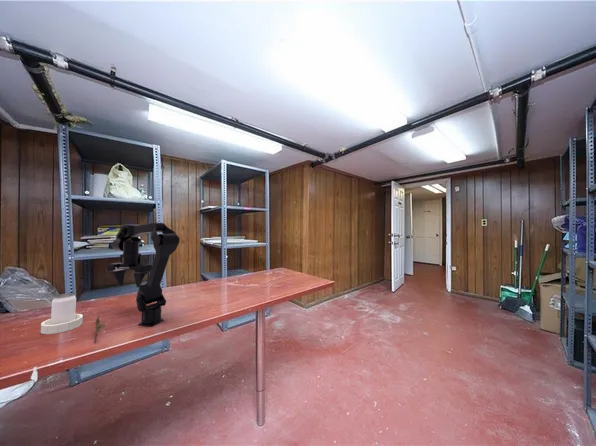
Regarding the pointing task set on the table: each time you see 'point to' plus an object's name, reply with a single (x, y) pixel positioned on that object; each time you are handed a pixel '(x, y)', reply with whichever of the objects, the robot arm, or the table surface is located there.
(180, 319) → the table surface
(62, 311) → the white rounded block
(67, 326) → the bowl
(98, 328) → the brown curved piece
